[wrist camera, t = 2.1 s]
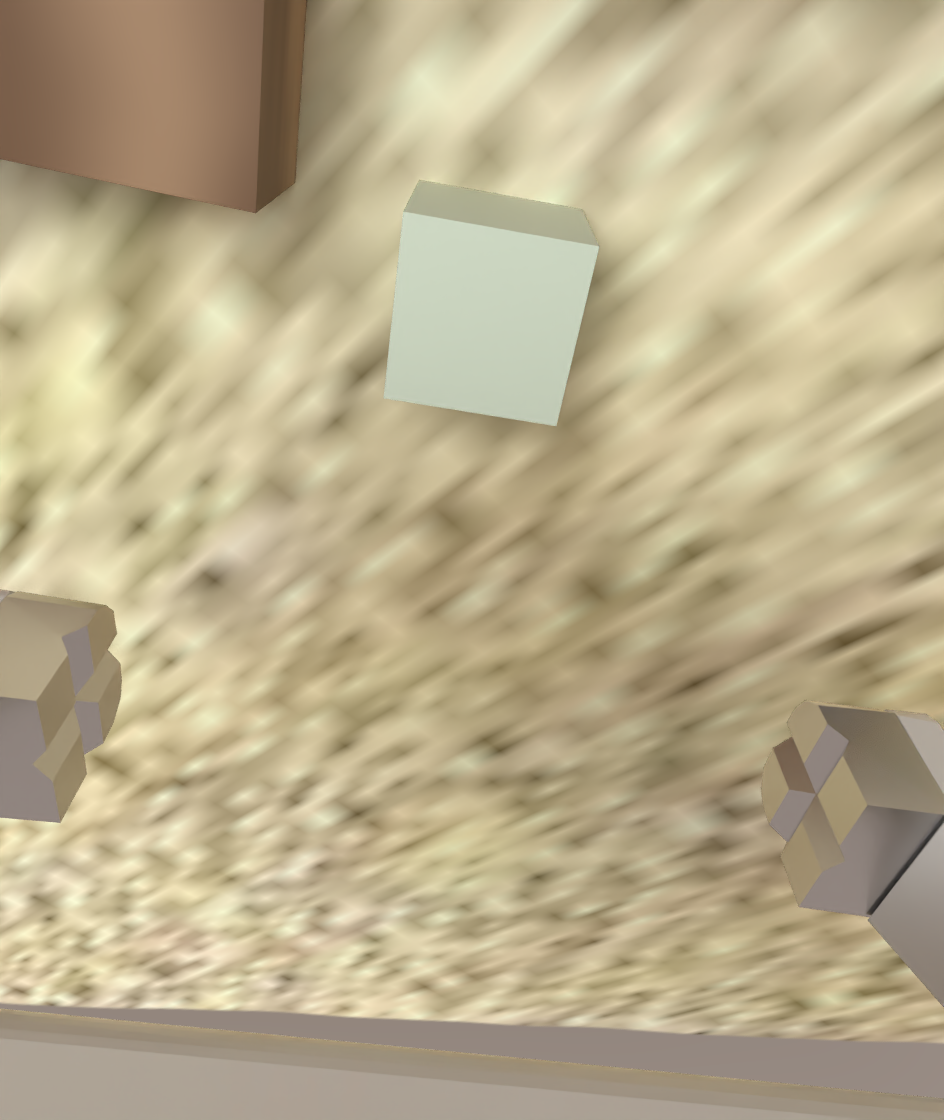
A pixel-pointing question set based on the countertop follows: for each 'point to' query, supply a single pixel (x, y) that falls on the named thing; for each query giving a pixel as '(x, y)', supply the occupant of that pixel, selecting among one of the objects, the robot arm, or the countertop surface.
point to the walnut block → (156, 93)
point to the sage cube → (488, 302)
